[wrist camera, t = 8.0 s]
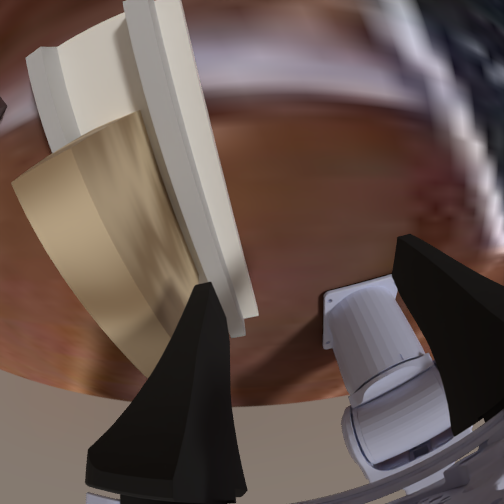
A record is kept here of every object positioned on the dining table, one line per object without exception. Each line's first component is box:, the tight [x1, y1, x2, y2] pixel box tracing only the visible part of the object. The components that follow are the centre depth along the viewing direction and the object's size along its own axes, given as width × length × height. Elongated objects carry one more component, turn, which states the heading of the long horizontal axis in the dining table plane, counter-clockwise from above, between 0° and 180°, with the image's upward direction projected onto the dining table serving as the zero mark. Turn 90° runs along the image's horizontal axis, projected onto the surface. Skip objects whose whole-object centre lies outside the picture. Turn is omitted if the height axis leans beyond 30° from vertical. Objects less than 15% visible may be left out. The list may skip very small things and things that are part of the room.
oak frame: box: [11, 110, 199, 378], centre depth 13 cm, size 12×3×8 cm, turn 11°
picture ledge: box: [26, 0, 259, 338], centre depth 16 cm, size 24×10×3 cm, turn 11°
